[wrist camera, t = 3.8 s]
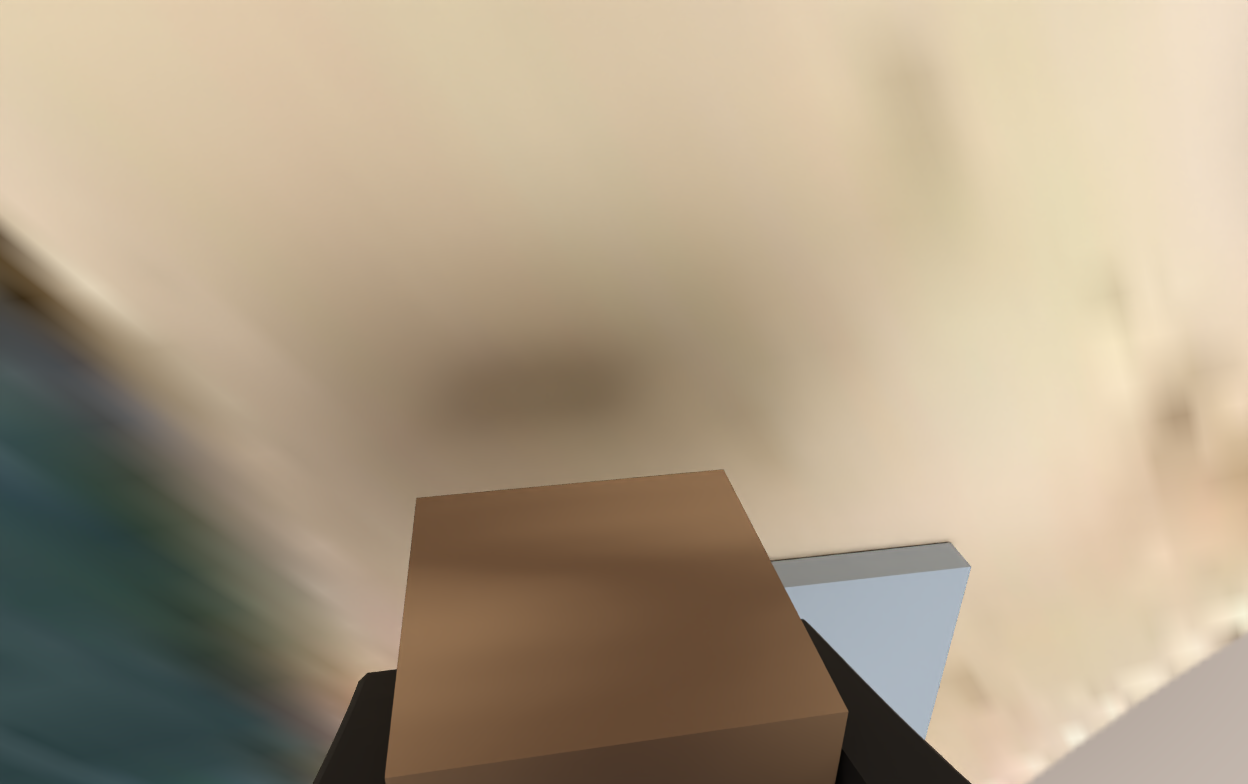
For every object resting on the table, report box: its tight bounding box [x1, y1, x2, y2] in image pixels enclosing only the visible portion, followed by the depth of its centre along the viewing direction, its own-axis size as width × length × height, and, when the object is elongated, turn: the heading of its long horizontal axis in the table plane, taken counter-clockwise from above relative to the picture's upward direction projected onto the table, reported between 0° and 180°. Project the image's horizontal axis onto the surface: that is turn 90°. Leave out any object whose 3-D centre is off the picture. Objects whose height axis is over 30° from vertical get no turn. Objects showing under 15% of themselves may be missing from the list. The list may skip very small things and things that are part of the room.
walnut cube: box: [385, 470, 848, 784], centre depth 9 cm, size 4×4×4 cm
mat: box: [771, 543, 971, 740], centre depth 22 cm, size 10×10×1 cm
